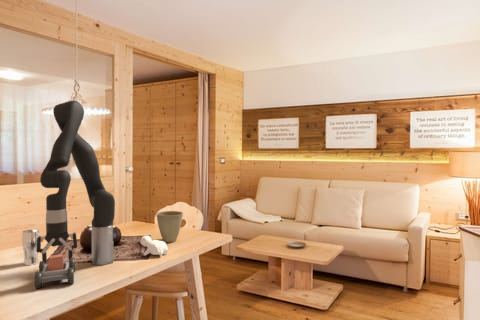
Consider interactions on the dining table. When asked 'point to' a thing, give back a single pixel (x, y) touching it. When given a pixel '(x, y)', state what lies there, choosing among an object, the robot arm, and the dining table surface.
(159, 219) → the plant pot
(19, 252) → the dining table surface
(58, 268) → the terracotta rectangular box
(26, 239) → the beer glass
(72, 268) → the chassis
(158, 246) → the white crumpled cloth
